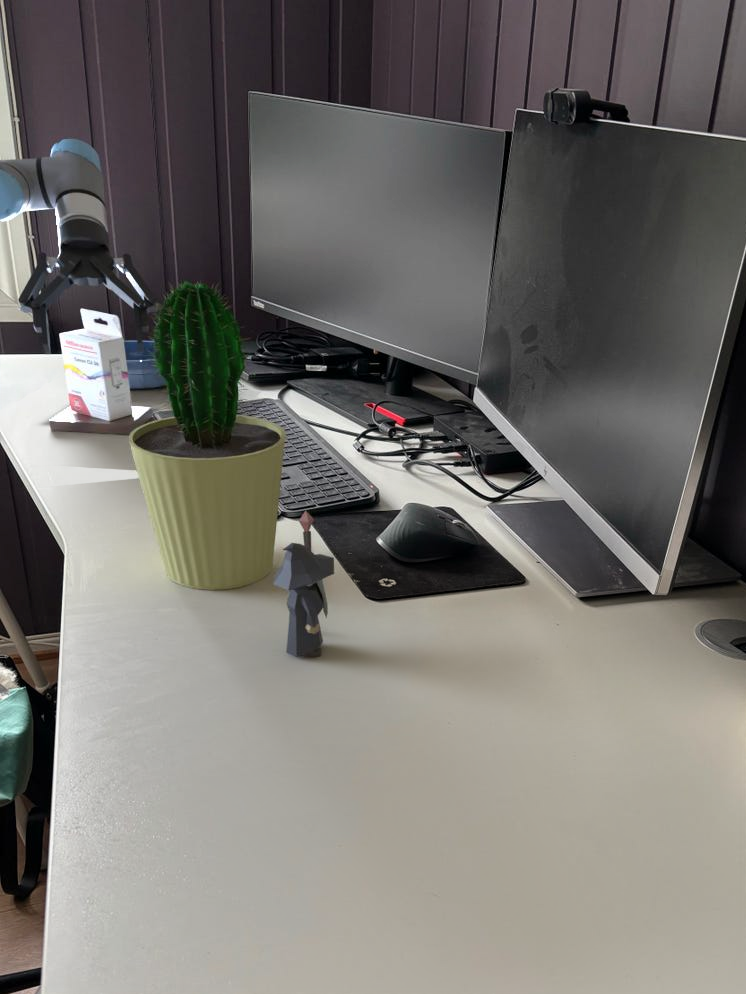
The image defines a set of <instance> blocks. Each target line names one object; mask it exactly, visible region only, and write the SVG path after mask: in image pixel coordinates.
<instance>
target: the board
mask: <svg viewBox="0 0 746 994" xmlns="http://www.w3.org/2000/svg"><path fill="white" fill-rule="evenodd" d="M132 411H133V414H131V415H128V416H125V417H122V418H118V419H115V420H112V421H107V420H103V419H99V418H96V417H92V416H88V415H84V414H81V413H77V412H73V411H71V409H70V406H69V407H67V408H66V409H64V410H63V411H61V412H59V413H58V414H56V415H55V416H54V417H52V418H51V419H49V420H48V422H49V428H50V431H58V432H75V433H90V434H92V433H93V434H106V435H107V434H109V435H123V436H124V435H127V436H129V435H130V433H131V432H132V431H133V430H135V429H136V428H138V427H140V426H142V425H144V424H146V423H148V421H149V420H151V419H152V418H153V417H154V415H153V407H152V406H139V405H137V406H136V405H132Z"/></svg>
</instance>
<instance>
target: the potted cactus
mask: <svg viewBox="0 0 746 994" xmlns="http://www.w3.org/2000/svg"><path fill="white" fill-rule="evenodd" d="M180 281H181V283H179V281H178V280H176V283H177V284H178V288H175V289H174V287H173V286H172V285H173V283H172V282H171V283H170V282H168V286H169V289H170V291H171V292H169V293H170V294H169V293H168V292H167V290H166V289H164V290H165V294H166V295H165V294H164V293H162V296H163V297H164V301H163V305H162V304H161V303H160V302H158V303H157V302H156V303H157V304H156V303H155V304H156V305H157V306H158V308H157V307H156V308H157V309H158V313H157V312H152V316H151V315H149V314H150V312H148V315H147V317H148V316H149V317H150V318H152V320H154V321H155V320H156V321H157V322H156V323H155V325H153V326H150V325H149V330H152V328H153V327H154V328H153V332H154V333H152V332H149V334H148V332H145V333H147V334H148V335H147V338H148V339H149V340H150V341H154V343H155V344H154V346H153V347H154V349H152V350H155V351H154V352H155V353H152V355H154V359H155V360H154V361H156V367H155V366H154V365H150V366H154V367H155V368H157V370H158V369H159V370H158V371H159V373H160V374H158V375H157V376H158V377H159V376H160V375H161V376H163V377H164V378H165V380H166V385H162V387H163V388H165V389H163V390H162V391H161V392H159V394H162V393H164V394H165V396H166V395H167V396H168V401H169V402H167V399H165V400H163V401H161V402H160V404H161V403H165V402H166V403H167V404H164V407H165V408H162V409H161V411H162V410H166V409H168V410H171V411H169V412H166V413H163V415H167V414H170V413H172V415H173V416H170V417H169V416H168V417H164V418H160V419H156V420H152V421H149V422H146V423H144V424H143V425H142V426H140V427H138V428H136V429H135V430H133V431H132V432H131V433H130V435H128V443H129V444H130V450H131V454H132V458H133V462H134V464H135V465H134V466H135V469H136V472H137V476H138V480H139V482H140V485H141V489H142V490H141V491H142V493H143V496H144V501H145V504H146V507H147V512H148V515H149V518H150V522H151V525H152V528H153V532H154V536H155V539H156V542H157V546H158V550H159V553H160V557H161V560H162V564H163V568H164V571H165V573H166V576H167V577H168V578H169V579H170V580H171V581H173V582H174V583H175V584H178V585H180V586H183V587H187V588H191V589H197V590H208V591H212V590H213V591H217V590H218V591H219V590H230V589H237V588H241V587H245V586H248V585H251V584H255V583H256V582H259V581H260V580H262V579H264V578H265V577H267V576H268V575H269V574H270V573H271V571H272V568H273V564H274V555H275V544H276V536H277V535H276V534H277V533H276V532H277V526H278V525H277V523H278V513H279V503H280V495H281V481H282V472H283V464H284V463H283V462H284V453H285V441H286V439H287V432H286V431H285V429H284V428H283V427H282V426H281V425H279V424H278V423H275V422H272V421H270V420H267V419H263V418H258V417H255V416H249V415H243V414H242V412H240V411H238V406H239V405H238V404H244V405H246V402H245V401H246V398H241V399H239V396H240V395H242V396H243V394H241V393H240V391H242V390H243V391H249V389H247V388H245V385H244V384H242V383H244V382H243V381H242V379H244V377H245V379H247V377H249V378H250V376H248V375H246V374H245V373H243V372H244V371H246V372H248V369H247V370H246V367H248V366H249V367H250V364H249V363H248V362H247V361H246V359H247V357H246V356H249V355H250V353H248V354H245V353H247V352H249V350H242V349H245V348H247V344H244V343H243V342H245V341H248V340H250V339H253V338H254V336H253V337H250V338H249V337H248V336H247V337H243V335H241V336H240V334H241V331H240V325H238V323H239V322H238V320H240V318H241V317H240V318H238V319H236V318H235V317H234V316H233V313H231V311H230V309H231V307H233V306H235V304H237V303H238V301H237V302H236V303H235V302H234V303H233V304H229V305H228V306H227V304H228V301H225V300H227V299H228V298H230V296H228V297H223V296H222V297H220V295H221V294H220V293H221V291H222V288H220V289H219V286H220V282H221V279H220V280H219V282H218V283H217V284H216V282H213V284H211V287H210V286H208V285H207V284H206V283H207V282H205V283H203V282H202V281H203V280H202V279H200V281H199V282H197V283H196V282H195V281H194V280H192V282H190V281H188V280H184V283H182V281H183V280H180ZM215 284H216V286H215ZM214 286H215V288H214V289H213V287H214ZM217 293H218V295H217ZM226 295H227V293H225V294H224V296H226ZM153 301H154V300H153ZM155 301H156V300H155ZM155 301H154V302H155ZM247 326H248V325H244V326H242V327H241V329H242V328H245V327H247ZM151 335H152V336H151ZM242 337H243V338H242ZM149 344H150V343H149ZM151 348H152V347H151ZM146 350H147V349H146ZM149 352H150V351H149ZM253 352H254V351H253ZM253 352H251V354H252V353H253ZM148 354H149V353H148ZM150 355H151V354H150ZM152 358H153V357H152ZM148 359H150V358H148ZM144 360H146V359H144ZM152 360H153V359H152ZM153 363H155V362H153ZM245 364H246V365H245ZM151 368H152V367H151ZM146 369H150V368H146ZM158 371H157V372H158ZM157 372H156V373H157ZM156 373H155V374H156ZM155 374H154V375H155ZM154 375H153V376H154ZM155 380H156V379H155ZM239 386H240V391H239ZM166 391H167V392H166Z"/></svg>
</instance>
